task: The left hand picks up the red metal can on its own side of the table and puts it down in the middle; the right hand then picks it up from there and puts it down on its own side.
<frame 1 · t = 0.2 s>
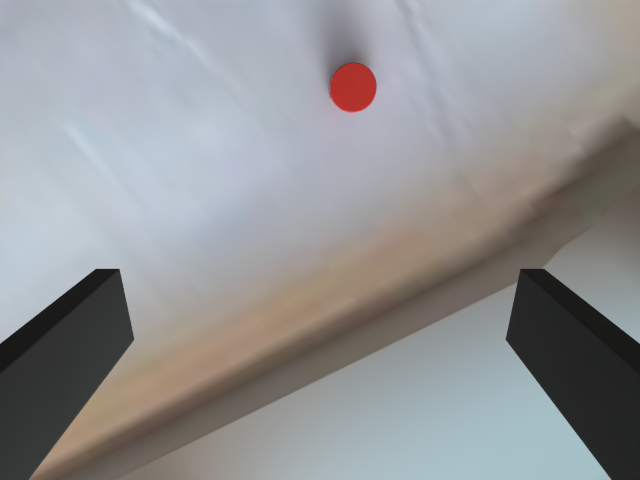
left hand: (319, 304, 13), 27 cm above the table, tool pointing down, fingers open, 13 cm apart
can: (349, 88, 36), on the table
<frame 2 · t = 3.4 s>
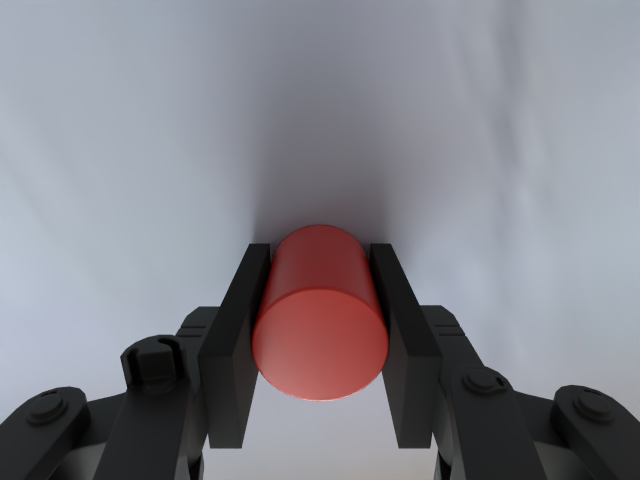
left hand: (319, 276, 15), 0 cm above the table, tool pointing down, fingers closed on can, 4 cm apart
can: (320, 270, 15), on the table, touching left hand
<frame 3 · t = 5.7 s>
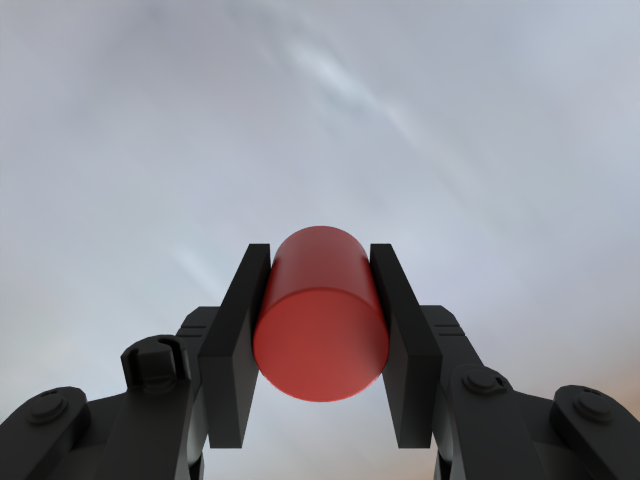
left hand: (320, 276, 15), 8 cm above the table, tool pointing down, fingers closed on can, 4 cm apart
can: (321, 270, 15), point 8 cm above the table, touching left hand
when the left hand's fingers open (1 cm above the table, at t = 7.9 s): can stays where it is, on the table.
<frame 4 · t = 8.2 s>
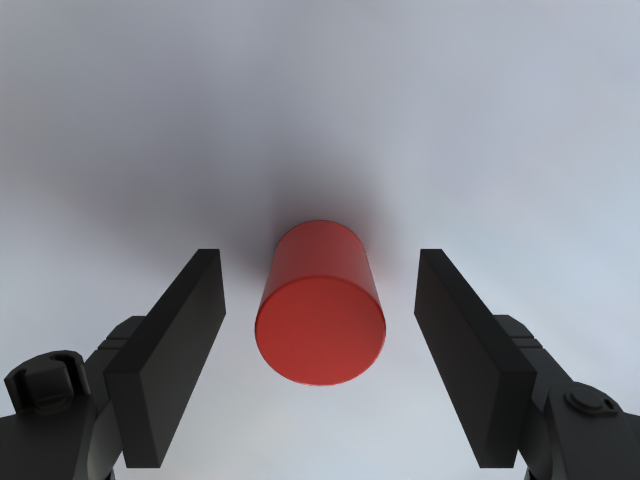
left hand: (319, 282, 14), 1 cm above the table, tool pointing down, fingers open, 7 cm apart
can: (320, 263, 15), on the table
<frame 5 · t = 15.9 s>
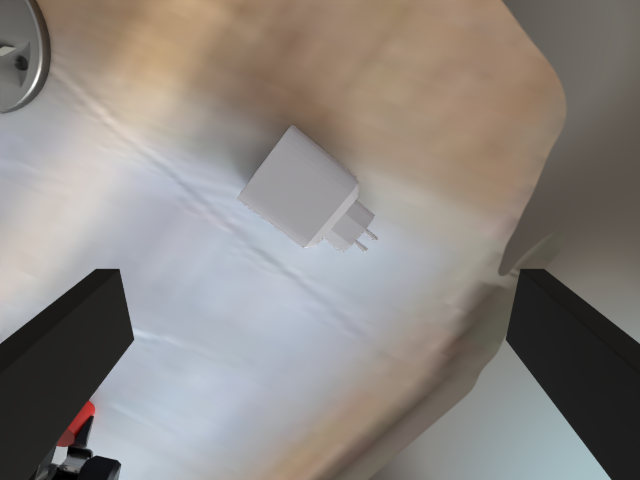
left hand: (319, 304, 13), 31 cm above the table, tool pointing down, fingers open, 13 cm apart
can: (81, 407, 55), on the table, touching right hand
charger: (320, 198, 43), on the table
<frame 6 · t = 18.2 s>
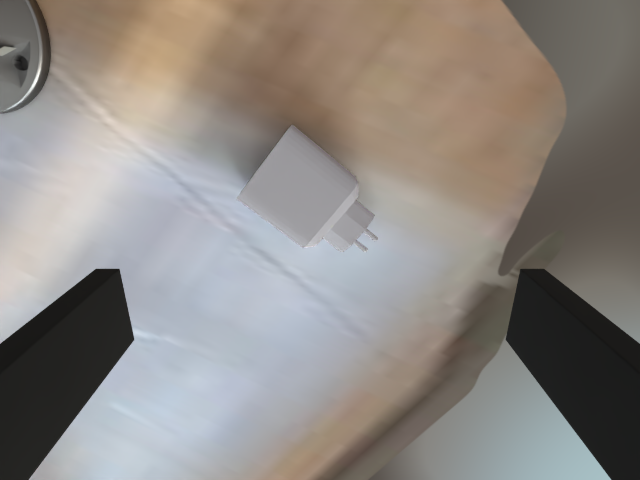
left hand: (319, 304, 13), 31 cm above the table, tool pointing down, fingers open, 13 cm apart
charger: (320, 198, 43), on the table
when the right hand's fingers open (2 cm above the table, at t = 20.8 s): can stays where it is, on the table.
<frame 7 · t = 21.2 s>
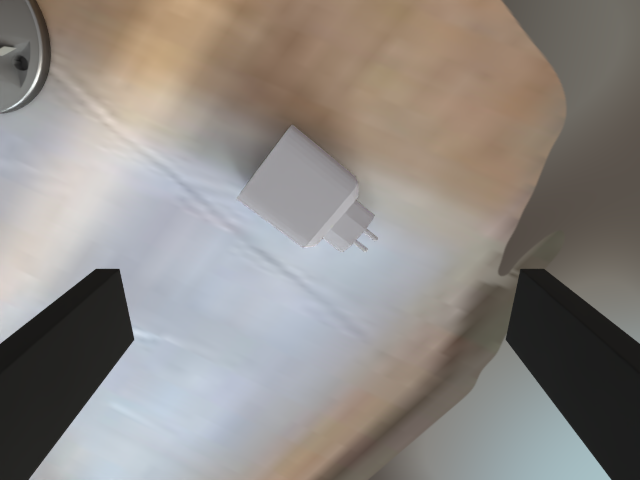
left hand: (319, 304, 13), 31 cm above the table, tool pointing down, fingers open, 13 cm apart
charger: (320, 198, 43), on the table
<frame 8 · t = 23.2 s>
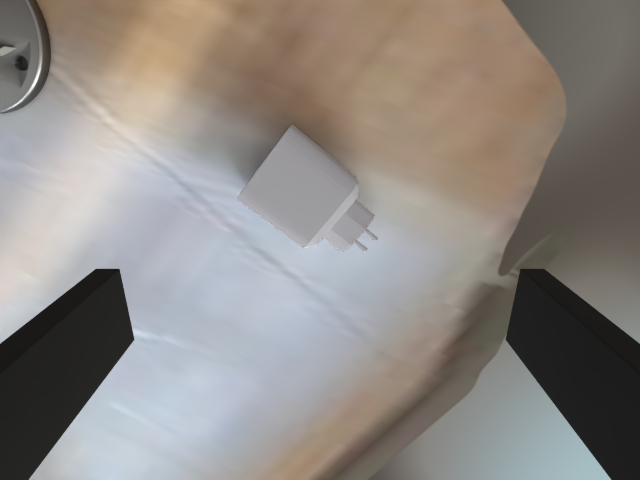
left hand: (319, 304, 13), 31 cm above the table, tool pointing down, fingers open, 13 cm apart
charger: (320, 198, 43), on the table
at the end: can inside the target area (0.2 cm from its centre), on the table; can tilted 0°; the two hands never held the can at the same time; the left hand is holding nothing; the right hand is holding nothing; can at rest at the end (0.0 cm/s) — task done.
